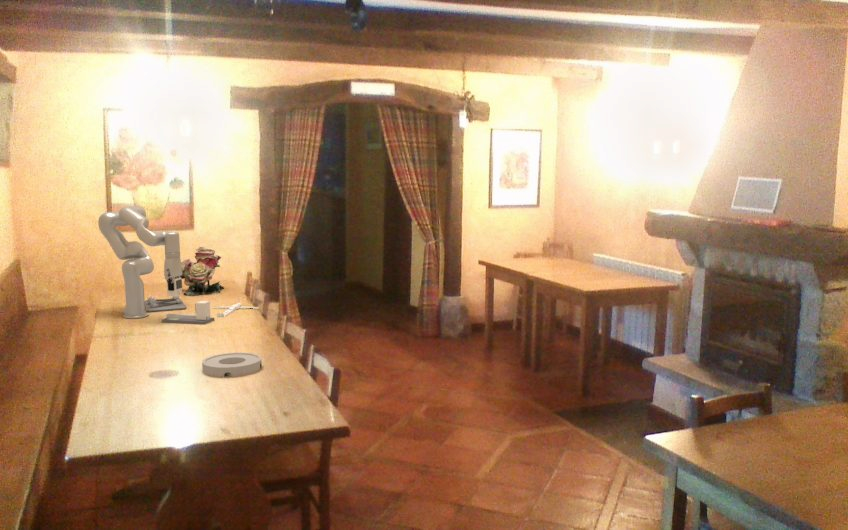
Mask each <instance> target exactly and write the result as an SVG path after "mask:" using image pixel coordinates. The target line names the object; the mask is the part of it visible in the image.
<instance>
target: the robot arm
mask: <svg viewBox="0 0 848 530" xmlns="http://www.w3.org/2000/svg"><path fill="white" fill-rule="evenodd" d="M97 223H98V224H97V225H98V228H99V229H98V230H99V232H100V233H101V234H102V235H103V237H104V238H105V239H106V241H107V243H109V245H110V248H111V249H112V251H113V252H114V254H115V256H116V257H117V258H118V260H121V261H124V260H125V261H124V262H123V263H122V265H121V272H122V275H123V280H124V292H125V293H124V295H125V306H126V308H121V309H120V313H124V314H123V318H124V319H141V318H146V317H148V316H149V312H148V311H146V308H145V301H146V300H145V287H144V282H143V280H142V278H141V276H144V275H149V274H151V273H153V271H154V269H155V265H154V264H155V263H154V261H153V260H152V258H151V255H150V254H149V253H148V251H147V249H146V248H145V246H144V245H143V244H142V243H141V242H143V243H144V244H145V245H147V246H149V247H157V246H164V256H165V258H164V265H163V266H164V267H163V269H164V270H163V276H164V279H165V280H166V284H167V283H168V290H169V291H174V283H173V279H174V278H181V277H182V274H183V273H182V266H181V262H182V260H181V244H180V242H181V241H180V233H179V232H177V231H169V230H158V231H150V230H149V229H148V227H149V225H150V224H149V223H150V220H149V218H147V213H146V210H145V209H144V207H142V206H140V205H127V206H123V207H121V208H120V209H119V210H117V211H107V212H106V211H105V212H103V213H102V214H100V215H99V217H98V221H97ZM126 226H127V227H128V226H130V227H131V228H132V229H133V230H135V232H136V236H137V238H138V239H139V241H136V240H133V241H128V240H127V239H126V237H125V235H124V234H123V233H122V232H121V231H120V230H119V229H117V228H119V227H126ZM170 278H171V279H170Z"/></svg>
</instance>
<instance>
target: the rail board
mask: <svg viewBox="0 0 848 530" xmlns="http://www.w3.org/2000/svg"><path fill="white" fill-rule="evenodd" d="M210 303H211V301H209V300H208V301H207V300H200V301H197V302H195V304H194V306H195V307H194V309H195V314H185V313H166V317H165V318H162V319H161V323H165V324H166V323H167V324H169V323H170V324H187V325H188V324H190V325H207V324H210V323H211V322H214V321H215V317H211V304H210Z"/></svg>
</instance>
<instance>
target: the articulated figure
mask: <svg viewBox="0 0 848 530" xmlns="http://www.w3.org/2000/svg"><path fill="white" fill-rule="evenodd" d="M212 307H213V309H219V310H223V309H225V311H224V312H221V313H220V312H218V313H217V316H216V317H217V318H225V317H228V316H229V315H231V314H233V313H234V312H236V311H238V310H247V309H246V308H253V309H252V310H260V306H242V303H241V302H238V303H236V304H235V303H234V304H232V305H231V306H229V305H228V306H227V305H226V306H222V305H221V306H220V305H219V306H216V305H215V306H212ZM237 309H238V310H237ZM232 312H233V313H232ZM230 313H231V314H230ZM224 316H225V317H224Z"/></svg>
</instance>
